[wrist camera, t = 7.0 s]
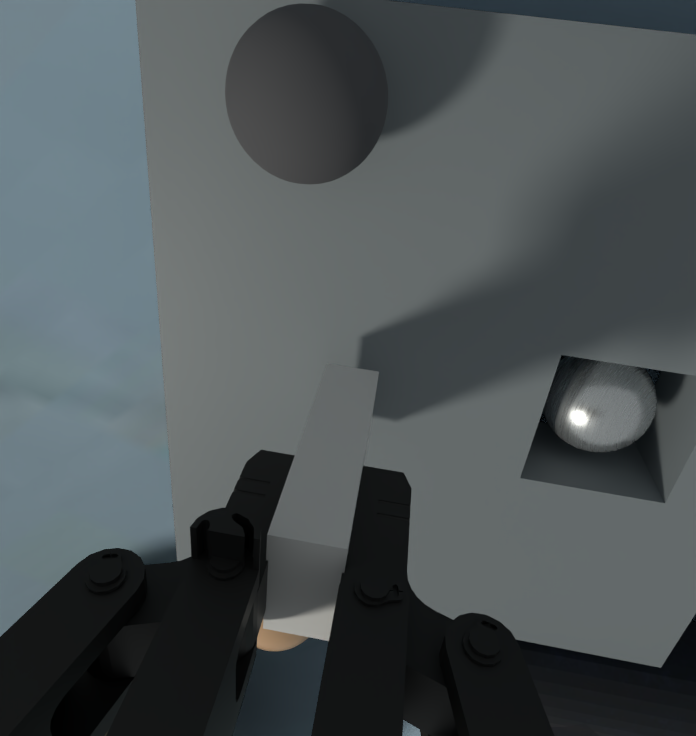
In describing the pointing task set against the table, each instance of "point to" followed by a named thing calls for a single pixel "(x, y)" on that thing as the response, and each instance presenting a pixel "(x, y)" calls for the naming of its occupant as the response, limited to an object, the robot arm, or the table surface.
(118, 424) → the table surface
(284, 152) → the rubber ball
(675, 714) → the pipe connector
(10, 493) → the table surface
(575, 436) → the steel ball
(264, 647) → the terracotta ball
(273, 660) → the table surface
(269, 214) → the slate board
